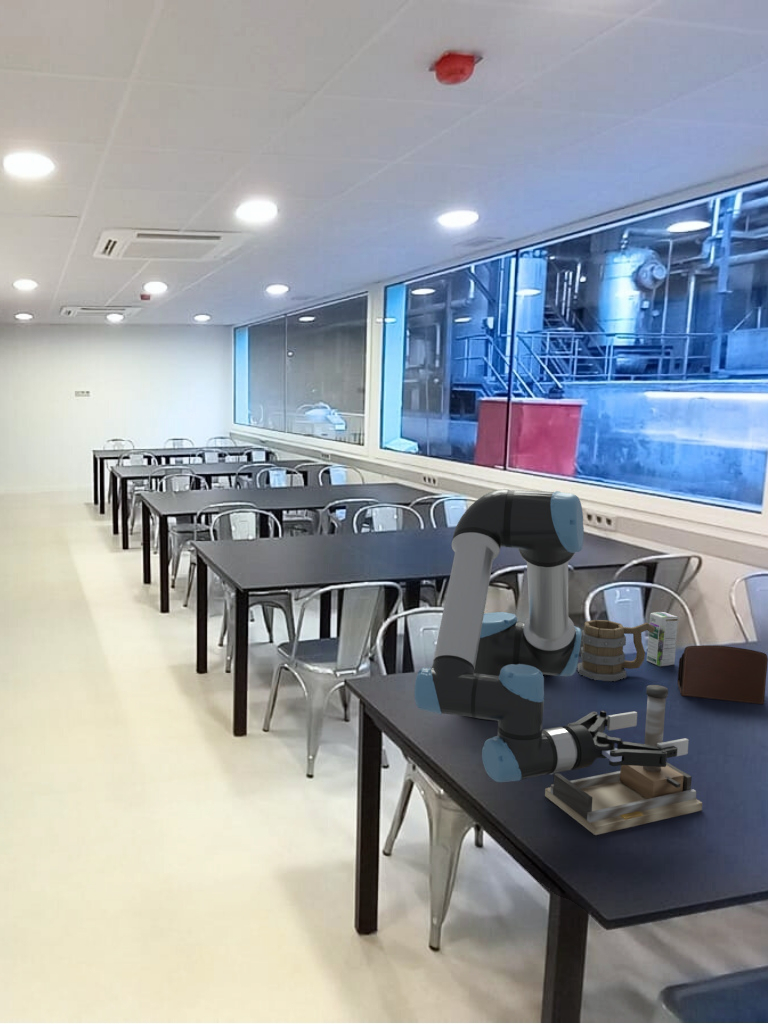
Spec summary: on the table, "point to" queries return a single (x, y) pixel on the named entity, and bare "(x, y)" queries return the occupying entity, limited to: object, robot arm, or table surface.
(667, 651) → the syrup box
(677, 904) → the table surface
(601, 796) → the press bed
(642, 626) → the tankard
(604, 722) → the robot arm
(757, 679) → the letter holder
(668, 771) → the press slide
